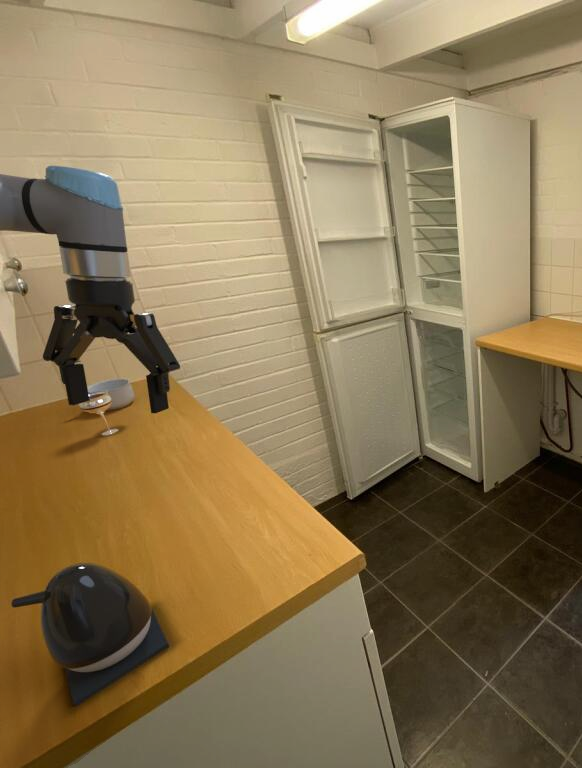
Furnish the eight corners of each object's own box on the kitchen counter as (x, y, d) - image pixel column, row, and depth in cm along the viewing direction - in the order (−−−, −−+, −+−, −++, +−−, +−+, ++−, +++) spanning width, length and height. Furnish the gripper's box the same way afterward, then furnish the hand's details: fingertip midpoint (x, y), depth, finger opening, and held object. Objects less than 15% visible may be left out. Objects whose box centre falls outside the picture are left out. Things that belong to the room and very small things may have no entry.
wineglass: (127, 424, 125) (110, 388, 120) (123, 434, 120) (105, 396, 115) (98, 431, 122) (79, 394, 117) (92, 441, 117) (72, 403, 112)
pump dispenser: (64, 651, 59) (8, 573, 53) (155, 603, 66) (114, 529, 60) (66, 705, 53) (2, 623, 47) (167, 646, 59) (122, 568, 53)
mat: (76, 708, 53) (72, 703, 53) (65, 659, 59) (62, 655, 59) (170, 647, 60) (167, 643, 60) (152, 609, 66) (150, 605, 66)
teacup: (137, 396, 144) (128, 375, 141) (139, 406, 137) (129, 384, 134) (83, 410, 136) (71, 387, 133) (82, 421, 128) (69, 397, 125)
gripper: (197, 285, 69) (209, 406, 74) (45, 270, 68) (68, 393, 74) (159, 287, 62) (176, 421, 67) (-11, 270, 61) (20, 406, 67)
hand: (119, 406), depth 71 cm, fingers open, 13 cm apart
